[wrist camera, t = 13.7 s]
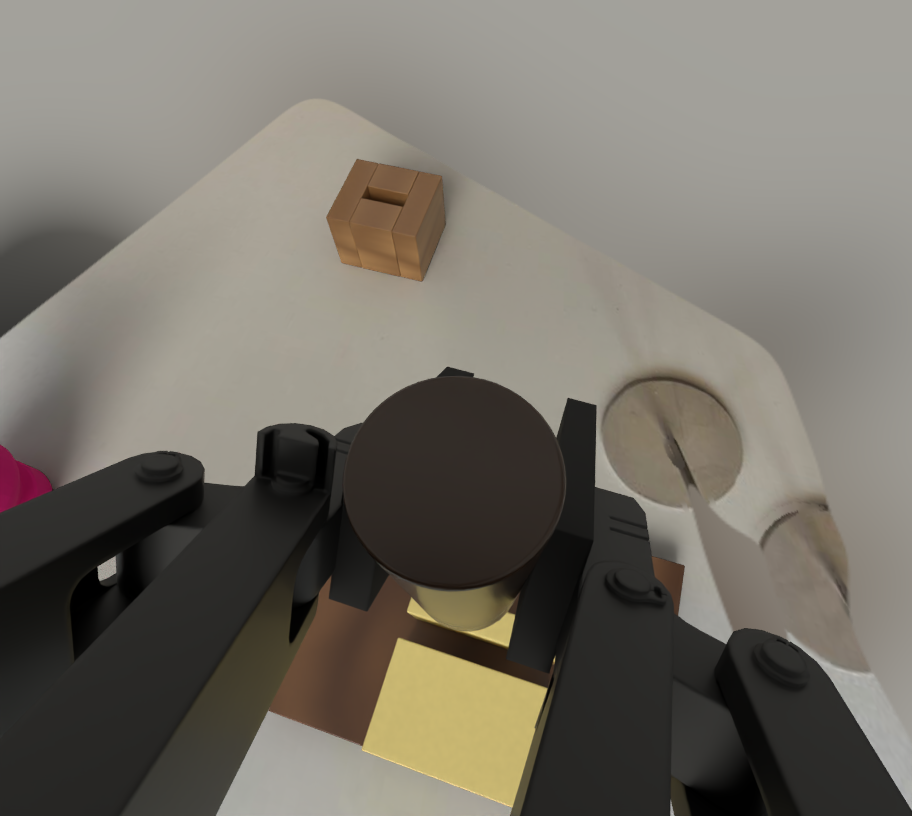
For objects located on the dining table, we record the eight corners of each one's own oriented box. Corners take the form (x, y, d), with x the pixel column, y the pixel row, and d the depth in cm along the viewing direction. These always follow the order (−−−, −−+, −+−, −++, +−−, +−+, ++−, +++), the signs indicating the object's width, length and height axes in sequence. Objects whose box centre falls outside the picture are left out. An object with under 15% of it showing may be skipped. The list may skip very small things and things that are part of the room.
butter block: (548, 688, 30) (558, 691, 26) (525, 795, 28) (532, 815, 24) (407, 640, 31) (398, 636, 27) (375, 739, 29) (360, 750, 25)
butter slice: (560, 636, 31) (570, 632, 27) (553, 664, 30) (564, 664, 26) (423, 591, 32) (415, 582, 28) (414, 618, 31) (406, 612, 28)
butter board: (676, 569, 33) (685, 565, 32) (637, 844, 28) (645, 853, 27) (367, 478, 36) (362, 470, 35) (277, 708, 31) (267, 710, 30)
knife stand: (446, 224, 45) (442, 175, 41) (422, 282, 43) (415, 236, 38) (368, 207, 46) (356, 158, 42) (341, 263, 44) (325, 217, 40)
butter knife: (513, 582, 21) (588, 403, 7) (494, 653, 20) (535, 623, 6) (448, 561, 22) (387, 351, 7) (426, 630, 21) (304, 549, 6)
